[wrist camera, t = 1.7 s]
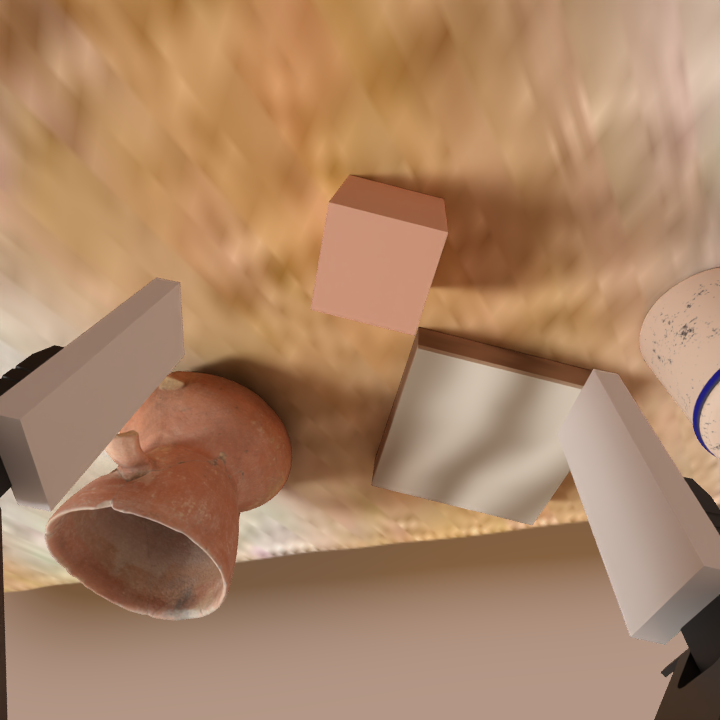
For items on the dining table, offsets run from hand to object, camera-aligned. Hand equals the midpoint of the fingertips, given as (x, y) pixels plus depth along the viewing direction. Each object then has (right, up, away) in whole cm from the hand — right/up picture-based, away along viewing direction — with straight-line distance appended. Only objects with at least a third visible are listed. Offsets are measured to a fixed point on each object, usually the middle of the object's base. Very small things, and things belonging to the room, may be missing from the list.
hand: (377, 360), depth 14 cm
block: (+1, +8, +15) cm, 17 cm away
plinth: (+9, -5, +22) cm, 24 cm away
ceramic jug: (-13, -6, +26) cm, 30 cm away
